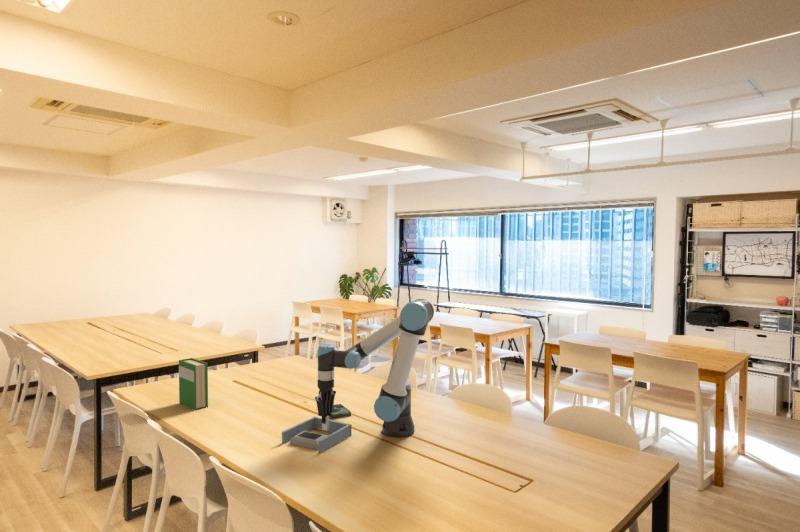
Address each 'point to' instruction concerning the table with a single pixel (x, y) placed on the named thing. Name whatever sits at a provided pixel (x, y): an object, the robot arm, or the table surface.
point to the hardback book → (193, 383)
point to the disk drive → (339, 411)
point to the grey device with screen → (307, 439)
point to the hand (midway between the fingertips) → (325, 429)
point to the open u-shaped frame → (338, 428)
